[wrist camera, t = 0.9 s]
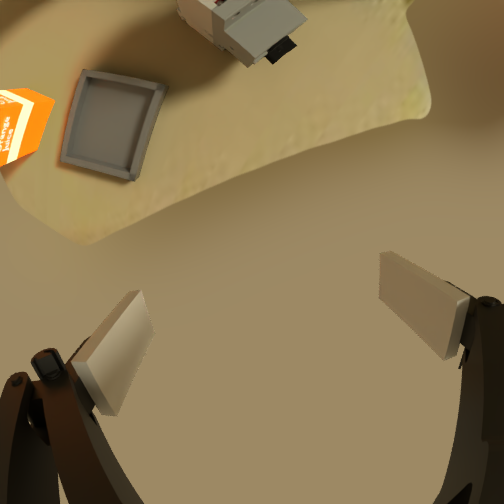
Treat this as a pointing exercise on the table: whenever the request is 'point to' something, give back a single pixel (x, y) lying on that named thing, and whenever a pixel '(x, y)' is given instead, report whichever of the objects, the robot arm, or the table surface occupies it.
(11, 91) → the juice carton
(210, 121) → the table surface
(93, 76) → the tray
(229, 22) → the circuit breaker
